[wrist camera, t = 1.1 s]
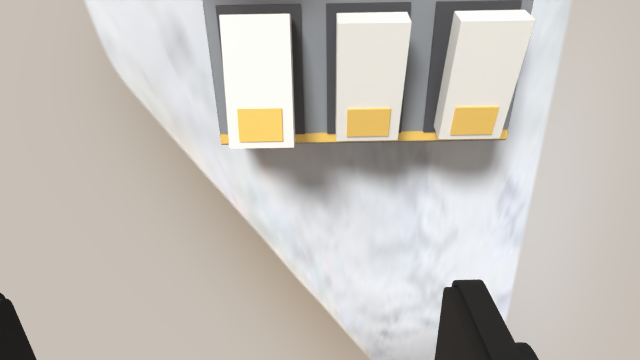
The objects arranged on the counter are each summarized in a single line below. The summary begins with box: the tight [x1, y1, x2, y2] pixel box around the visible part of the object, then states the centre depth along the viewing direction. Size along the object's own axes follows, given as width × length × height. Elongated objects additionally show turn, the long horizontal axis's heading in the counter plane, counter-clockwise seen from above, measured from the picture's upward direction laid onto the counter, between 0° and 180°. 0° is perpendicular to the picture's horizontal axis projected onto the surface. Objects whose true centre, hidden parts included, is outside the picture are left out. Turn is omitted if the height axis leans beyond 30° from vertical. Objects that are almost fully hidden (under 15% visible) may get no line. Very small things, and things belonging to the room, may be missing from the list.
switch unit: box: [203, 0, 534, 145], centre depth 28 cm, size 9×18×5 cm, turn 91°
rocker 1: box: [219, 14, 295, 149], centre depth 25 cm, size 7×4×2 cm, turn 1°
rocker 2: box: [335, 12, 412, 141], centre depth 24 cm, size 7×4×2 cm, turn 1°
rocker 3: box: [434, 10, 535, 139], centre depth 24 cm, size 7×4×2 cm, turn 1°
